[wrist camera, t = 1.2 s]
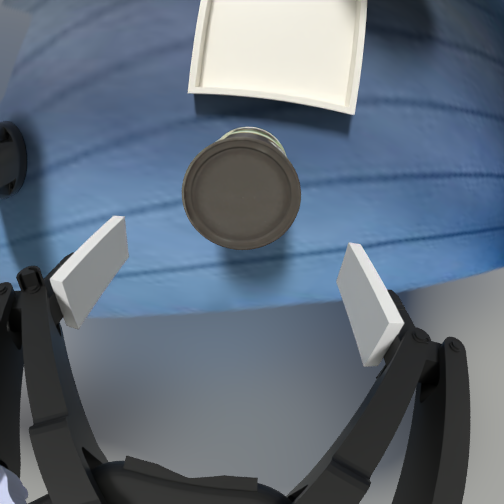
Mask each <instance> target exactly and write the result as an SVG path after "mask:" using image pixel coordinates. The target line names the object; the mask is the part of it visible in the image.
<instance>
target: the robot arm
mask: <svg viewBox="0 0 504 504" xmlns="http://www.w3.org/2000/svg"><path fill="white" fill-rule="evenodd" d="M26 167H27V156H26V148H25V144H24V140H23V137H22V135H21V133H20V131H19V129H18V128H17V127H16V126H15V125H14V124H13V123H11V122H9V121H3V122H0V199H5V198H8V197H10V196H12V195H13V194H15V193H17V192H18V191H19V189H20V188H21V186H22V184H23V182H24V179H25V175H26ZM128 257H129V254H128V245H127V236H126V226H125V217H122V216H113V217H112V218H111V219H110V220H108V221H107V222H106V223H105V224H104V225H103V226H102V227H101V228H100V229H99V230H98V231H96V232H95V233H94V234H93V235H92V236H91V237H90V238H89V239H88V240H87V241H86V242H85V243H84V244H83V245H82V246H81V247H80V248H79V249H78V250H77V251H76V252H75V253H71V254H69V255H67V256H66V257H64V258H63V259H62V260H61V261H60V263H59V264H58V265H57V266H56V267H55V268H54V269H53V270H52V271H51V272H50V273H49V274H48V275H47V276H46V277H45V278H44V279H43V277H42V274H41V271H40V268H39V267H37V266H29V267H26V268H24V269H22V270H21V271H20V272H19V273H18V274H17V277H16V278H17V281H18V283H19V286H20V289H21V291H14V290H13V287H12V285H11V283H9V282H4V283H0V504H27V503H26V501H25V499H26V498H27V497H28V492H27V489H26V488H25V487H24V486H23V485H22V482H21V481H20V466H21V464H20V463H21V462H20V434H19V433H20V428H19V427H20V424H19V423H20V398H21V385H22V375H23V367H24V368H25V376H26V384H27V391H28V397H29V403H30V408H31V413H32V417H33V423H34V425H33V426H31V427H30V428H29V434H30V439H31V443H32V447H33V450H34V454H35V457H36V460H37V463H38V466H39V469H40V472H41V475H42V478H43V481H44V483H45V485H46V488H47V491H48V494H47V495H45V496H43V497H41V498H39V499H37V500H35V501H33V502H31V503H28V504H359V502H360V501H361V499H362V498H363V497H364V495H365V494H366V492H367V490H368V489H369V487H370V484H371V482H370V480H369V479H370V477H371V475H372V473H373V471H374V470H375V468H376V467H377V465H378V463H379V462H380V460H381V458H382V456H383V455H384V453H385V451H386V449H387V447H388V446H389V444H390V442H391V440H392V438H393V436H394V434H395V432H396V430H397V428H398V426H399V424H400V422H401V420H402V418H403V416H404V414H405V411H406V409H407V407H408V405H409V403H410V400H411V398H412V395H413V393H414V391H415V388H416V396H415V404H414V411H413V418H412V425H411V430H410V436H409V440H408V446H407V450H406V455H405V459H404V463H403V467H402V471H401V475H400V478H399V482H398V485H397V489H396V492H395V495H394V498H393V502H392V504H462V500H463V495H464V489H465V483H466V476H467V468H468V459H469V444H470V390H469V377H468V367H467V357H466V350H465V347H464V345H463V344H462V342H461V341H459V340H458V339H456V338H454V337H447V338H446V339H445V340H444V342H443V343H442V344H440V343H437V342H433V341H431V339H430V337H429V335H428V334H427V333H426V332H425V331H423V330H422V329H419V328H416V327H415V326H414V324H413V322H412V320H411V318H410V317H409V315H408V313H407V311H406V310H405V307H404V305H402V302H401V300H400V298H399V296H397V295H396V294H395V293H394V292H393V291H392V290H387V289H386V287H385V286H384V284H383V282H382V280H381V278H380V277H379V275H378V273H377V271H376V270H375V268H374V266H373V265H372V263H371V261H370V259H369V258H368V256H367V254H366V253H365V251H364V249H363V248H362V246H361V245H360V244H355V243H348V246H347V250H346V253H345V256H344V259H343V263H342V266H341V269H340V272H339V275H338V278H337V281H336V282H337V285H338V288H339V291H340V293H341V296H342V299H343V302H344V305H345V308H346V311H347V314H348V317H349V320H350V323H351V326H352V329H353V333H354V336H355V339H356V342H357V345H358V349H359V352H360V356H361V359H362V362H363V365H364V366H378V365H379V363H380V362H381V360H382V359H383V357H384V360H385V363H386V365H385V366H384V368H383V369H382V370H381V372H380V373H379V375H378V376H377V377H376V379H377V380H376V381H375V383H374V385H373V386H372V388H371V389H370V391H369V393H368V394H367V396H366V398H365V399H364V401H363V402H362V404H361V405H360V407H359V408H358V410H357V412H356V413H355V415H354V416H353V417H352V419H351V420H350V422H349V423H348V425H347V426H346V427H345V429H344V430H343V432H342V433H341V434H340V436H339V437H338V438H337V440H336V441H335V442H334V444H333V445H332V446H331V447H330V449H329V450H328V451H327V453H326V454H325V455H324V456H323V458H322V459H321V460H320V461H319V462H318V464H317V465H316V466H315V467H314V468H313V469H312V471H311V472H310V473H309V474H308V475H307V476H306V477H305V478H304V479H303V480H302V481H301V482H300V483H299V484H298V485H297V486H296V487H295V488H294V489H293V490H292V491H291V492H290V493H289V494H288V495H287V496H284V495H283V494H282V493H280V492H279V491H277V490H275V489H273V488H271V487H268V486H266V485H263V484H259V483H257V479H258V478H250V477H234V476H225V475H224V476H214V477H202V478H187V477H184V476H182V475H180V474H177V473H175V472H173V471H171V470H169V469H166V468H164V467H162V466H160V465H158V464H155V463H151V462H147V461H144V460H140V459H136V458H133V457H130V456H126V459H125V461H113V462H108V460H107V459H106V457H105V455H104V454H103V452H102V451H101V449H100V448H99V446H98V444H97V442H96V440H95V437H94V435H93V433H92V430H91V428H90V425H89V423H88V420H87V417H86V415H85V412H84V409H83V406H82V404H81V400H80V397H79V394H78V391H77V388H76V385H75V381H74V378H73V374H72V370H71V367H70V363H69V359H68V355H67V351H66V346H65V342H64V337H63V332H62V327H61V325H60V320H61V319H62V318H64V320H65V323H66V325H67V326H69V327H73V328H75V329H79V328H80V327H81V325H82V324H83V322H84V320H85V319H86V317H87V316H88V314H89V313H90V311H91V310H92V308H93V307H94V305H95V304H96V302H97V301H98V299H99V298H100V296H101V295H102V293H103V292H104V291H105V289H106V288H107V286H108V285H109V283H110V282H111V281H112V279H113V278H114V276H115V275H116V274H117V272H118V271H119V269H120V268H121V267H122V265H123V264H124V263H125V261H126V260H127V259H128Z"/></svg>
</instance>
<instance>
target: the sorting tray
mask: <svg viewBox="0 0 504 504" xmlns="http://www.w3.org/2000/svg"><path fill="white" fill-rule="evenodd" d="M366 13H367V0H201V3H200V8H199V14H198V20H197V26H196V32H195V39H194V46H193V53H192V61H191V69H190V77H189V87H188V93H191V94H212V95H229V96H241V97H251V98H260V99H268V100H276V101H283V102H289V103H295V104H301V105H307V106H312V107H317V108H322V109H327V110H331V111H336V112H340V113H344V114H349V115H354V114H355V107H356V101H357V95H358V88H359V81H360V73H361V65H362V57H363V48H364V38H365V27H366Z"/></svg>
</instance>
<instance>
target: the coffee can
mask: <svg viewBox="0 0 504 504" xmlns="http://www.w3.org/2000/svg"><path fill="white" fill-rule="evenodd" d="M182 201H183V206H184V209H185V212H186V215H187V217H188V219H189V220H190V222H191V224H192V225H193V226H194V228H195V229H196V230H197V231H198V232H199V233H200V234H201V235H202V236H204V237H205V238H206V239H208V240H209V241H211V242H213V243H215V244H217V245H220V246H222V247H226V248H230V249H235V250H250V249H256V248H259V247H263V246H265V245H268V244H270V243H272V242H274V241H275V240H277V239H278V238H280V237H281V236H282V235H283V234H284V233H285V232H286V231H287V230H288V229H289V228H290V226H291V225H292V223H293V222H294V220H295V218H296V216H297V213H298V211H299V207H300V202H301V189H300V182H299V179H298V176H297V173H296V171H295V169H294V167H293V165H292V164H291V162H290V161H289V160H288V158H287V156H286V154H285V151H284V149H283V147H282V145H281V144H280V142H279V141H278V140H277V139H276V138H275V137H274V136H273V135H272V134H270V133H269V132H267V131H265V130H262V129H259V128H255V127H242V128H237V129H234V130H232V131H230V132H228V133H226V134H225V135H224V136H223V137H221V138H220V139H219V140H218V141H216V142H215V143H213V144H211V145H209V146H208V147H206V148H205V149H203V150H202V151H201V152H200V153H199V154H198V155H197V156H196V157H195V158H194V159H193V161H192V162H191V163H190V165H189V167H188V169H187V171H186V173H185V176H184V180H183V184H182Z"/></svg>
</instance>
